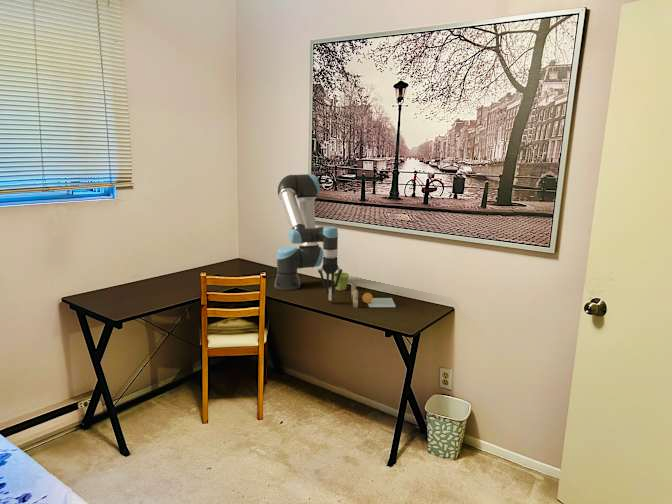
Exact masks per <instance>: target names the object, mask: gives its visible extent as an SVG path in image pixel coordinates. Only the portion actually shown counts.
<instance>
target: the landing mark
mask: <svg viewBox="0 0 672 504" xmlns="http://www.w3.org/2000/svg"><path fill="white" fill-rule="evenodd" d="M367 306H368V308H396V304H395V302H394V300H393V298H392V297H373V299H372V301H371V302H370V303H367Z"/></svg>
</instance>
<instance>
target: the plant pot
mask: <svg viewBox="0 0 672 504" xmlns="http://www.w3.org/2000/svg"><path fill="white" fill-rule="evenodd" d="M337 274H338V272H335V273H334V283H335V282H336V278H337ZM349 276H350V274H349V273H348V272H342V273H341V274H340V278H339V282H338V285H337V287H335V288H334V289H335V290H337V291H346V290H347V287H348V280H349Z"/></svg>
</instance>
